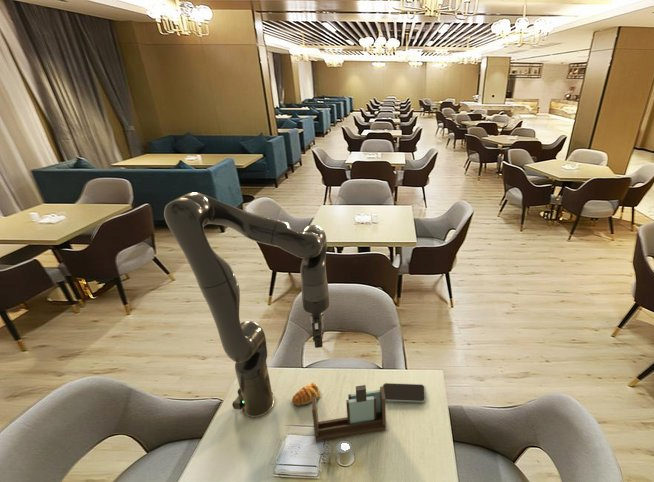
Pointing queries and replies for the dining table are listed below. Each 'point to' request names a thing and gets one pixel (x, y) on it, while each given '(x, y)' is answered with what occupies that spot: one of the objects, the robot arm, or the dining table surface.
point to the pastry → (306, 395)
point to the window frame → (341, 426)
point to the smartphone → (404, 392)
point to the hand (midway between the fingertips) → (318, 337)
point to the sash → (361, 407)
